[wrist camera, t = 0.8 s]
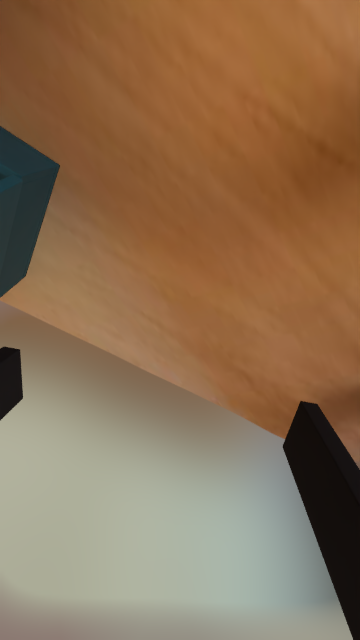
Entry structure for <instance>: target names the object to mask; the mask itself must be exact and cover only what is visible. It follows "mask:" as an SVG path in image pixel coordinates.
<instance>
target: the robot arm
mask: <svg viewBox="0 0 360 640" xmlns="http://www.w3.org/2000/svg"><path fill="white" fill-rule="evenodd" d="M22 399H23V391H22V375H21V358H20V350H19V349H14V348H8V347H3V348H1V349H0V420H1V419H2V418H3V417H4V416H5V415H6V414H7V413H8V412H9V411H10V410H11V409H12V408H13V407H14V406H15V405H17V403H19V402H20V401H21V400H22ZM283 449H284V452H285V455H286V457H287V460H288V463H289V465H290V468H291V471H292V473H293V476H294V479H295V482H296V485H297V487H298V490H299V493H300V495H301V498H302V501H303V503H304V506H305V509H306V512H307V515H308V517H309V520H310V523H311V525H312V528H313V531H314V534H315V536H316V539H317V542H318V545H319V547H320V550H321V552H322V556H323V558H324V561H325V564H326V566H327V569H328V572H329V575H330V577H331V580H332V583H333V585H334V588H335V591H336V593H337V596H338V599H339V602H340V604H341V607H342V610H343V613H344V616H345V618H346V621H347V624H348V626H349V629H350V632H351V634H352V637H353V640H360V470H359V468H358V466H357V465H356V463H355V462H354V460H353V459H352V457H351V456H350V454H349V452H348V451H347V449H346V448H345V446H344V445H343V443H342V442H341V440H340V439H339V437H338V435H337V434H336V432H335V431H334V429H333V428H332V426H331V425H330V423H329V422H328V420H327V418H326V417H325V415H324V414H323V412H322V411H321V409H320V408H319V406H318V404H314V403H308V402H303V401H300V404H299V406H298V409H297V411H296V414H295V416H294V419H293V422H292V424H291V427H290V429H289V432H288V434H287V437H286V439H285V442H284V444H283Z"/></svg>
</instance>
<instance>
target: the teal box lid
mask: <svg viewBox="0 0 360 640" xmlns="http://www.w3.org/2000/svg"><path fill="white" fill-rule="evenodd" d="M22 184H23V180H22V179H20V178H19V177H17V176H15V175H11V176H9V177H7V178H5V179H2V180H0V275H1V270H2V266H3V262H4V258H5V254H6V250H7V246H8V242H9V237H10V233H11V229H12V225H13V221H14V217H15V213H16V208H17V204H18V200H19V196H20V192H21V188H22Z"/></svg>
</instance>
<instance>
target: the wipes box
mask: <svg viewBox="0 0 360 640" xmlns="http://www.w3.org/2000/svg"><path fill="white" fill-rule="evenodd" d="M59 167H60V165H58V164H57V163H55V162H54V161H52V160H51V159H49V158H48V157H46V156H45V155H43V154H42V153H40V152H39V151H37V150H36V149H34V148H33V147H31V146H30V145H28V144H27V143H25V142H23V141H22V140H20V139H19V138H17V137H16V136H14V135H13V134H11V133H10V132H8V131H7V130H5V129H4V128H2V127H1V126H0V180H2V179H5V178H7V177H9V176H11V175H15V176H17V177H19V178H20V179H22V180H23V184H22V188H21V192H20V196H19V200H18V204H17V208H16V213H15V217H14V221H13V225H12V229H11V233H10V237H9V242H8V246H7V250H6V254H5V258H4V262H3V266H2V270H1V275H0V297H2V296H3V295H4V294H5V293H6V292H7V291H9V290H10V289H11V288H12V287H13V286H15V285H16V284H17V283H18V282H19V281H20V280H22V279H23V278H24V277H25V276H26V273H27V270H28V266H29V263H30V260H31V257H32V254H33V250H34V247H35V244H36V241H37V238H38V234H39V231H40V228H41V225H42V222H43V218H44V215H45V212H46V209H47V205H48V202H49V199H50V196H51V193H52V189H53V186H54V183H55V180H56V177H57V173H58V170H59Z"/></svg>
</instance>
